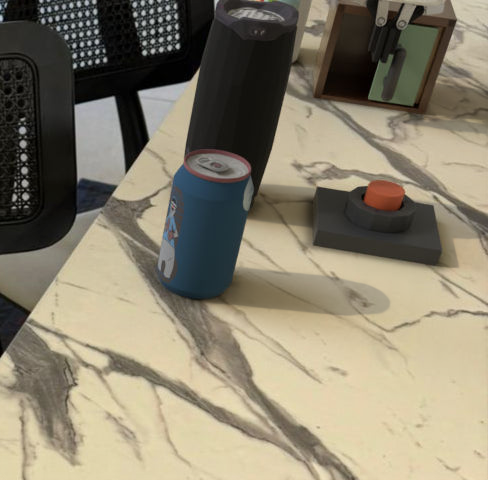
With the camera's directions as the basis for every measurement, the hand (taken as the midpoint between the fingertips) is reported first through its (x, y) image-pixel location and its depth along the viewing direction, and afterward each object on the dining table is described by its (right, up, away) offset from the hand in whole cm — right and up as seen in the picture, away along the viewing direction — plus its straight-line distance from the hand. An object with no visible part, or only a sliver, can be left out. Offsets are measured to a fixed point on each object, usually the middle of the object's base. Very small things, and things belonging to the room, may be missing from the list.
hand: (378, 58), depth 122 cm
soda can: (-27, -33, -28) cm, 51 cm away
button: (-7, -23, -20) cm, 31 cm away
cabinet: (+2, 0, +12) cm, 12 cm away
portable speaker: (-22, -21, -14) cm, 34 cm away
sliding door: (+3, -4, +5) cm, 8 cm away
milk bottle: (-8, +8, +20) cm, 23 cm away
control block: (-7, -26, -18) cm, 32 cm away
